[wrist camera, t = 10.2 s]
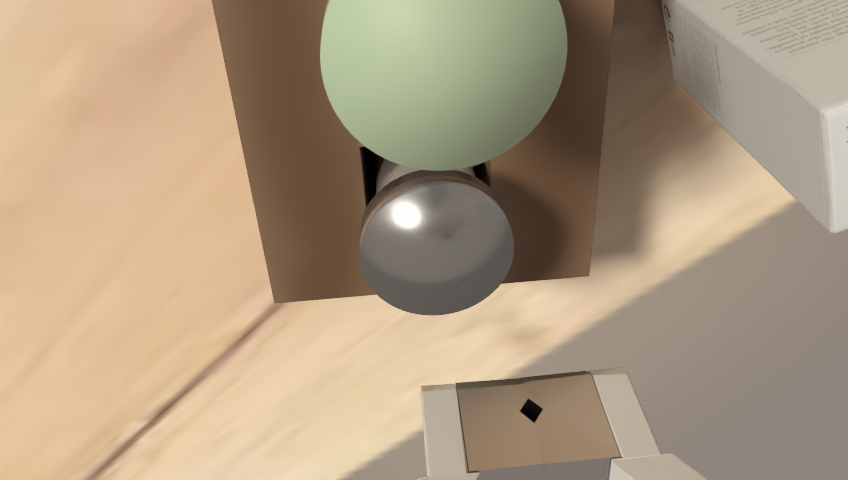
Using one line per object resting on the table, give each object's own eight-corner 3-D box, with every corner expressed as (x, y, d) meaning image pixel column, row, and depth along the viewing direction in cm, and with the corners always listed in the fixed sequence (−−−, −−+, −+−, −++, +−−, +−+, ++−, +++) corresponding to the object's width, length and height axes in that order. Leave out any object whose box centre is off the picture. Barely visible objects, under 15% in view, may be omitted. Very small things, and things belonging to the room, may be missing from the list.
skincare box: (671, 82, 30) (825, 241, 20) (654, -17, 28) (818, 108, 18) (819, 30, 30) (1052, 169, 20) (813, -76, 27) (1075, 21, 17)
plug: (473, 69, 29) (515, 181, 22) (474, 175, 32) (512, 308, 24) (353, 78, 29) (352, 194, 21) (364, 184, 32) (367, 321, 24)
